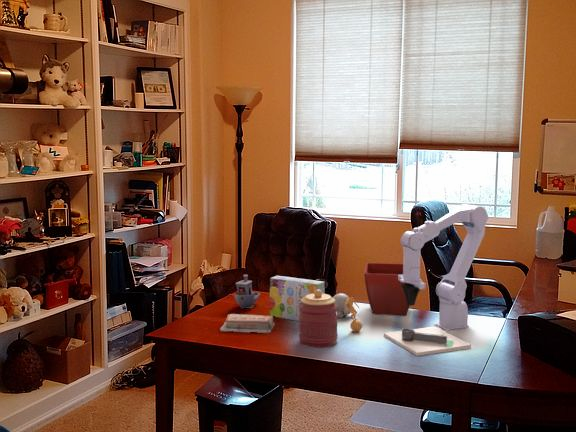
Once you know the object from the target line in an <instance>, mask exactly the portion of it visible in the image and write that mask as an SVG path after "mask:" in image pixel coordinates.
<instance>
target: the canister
mask: <svg viewBox="0 0 576 432" xmlns="http://www.w3.org/2000/svg"><path fill="white" fill-rule="evenodd" d="M301 302H302V304H300V305H299V307H298V308H299V310H300V315H299V321H298V341H299V343H300V344H302V345H303V346H306V347H312V348H325V347H331V346H333V345H335V344H337V342H338V338H339V337H338V335H339V334H338V319H339V318H338V316H337V312H336V310H337V309H338V306H337V305H336V304H334V302H335V299H334V298H333V296H331V295H330V294H327V293H325V294H322V291H321V290H315V292H314V294H308V295H306V296H305V297H304V298H302V299H301Z"/></svg>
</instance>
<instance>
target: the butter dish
mask: <svg viewBox="0 0 576 432" xmlns="http://www.w3.org/2000/svg"><path fill="white" fill-rule="evenodd" d="M275 325H276V324H275V322H274V317H273V316H270V315H263V314H262V315H261V314H260V315H259V314H242V313H240V314H238V313H237V314H236V313H230V314H227V317H226V319H225V322H224V323H223V325H222V326H221V327H220V328H219V330H220V332H232V331H233V333H250V332H257V334H261V333H262V334H270V333H271V332H272V331H273V329H274V327H275ZM271 330H272V331H271Z"/></svg>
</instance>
